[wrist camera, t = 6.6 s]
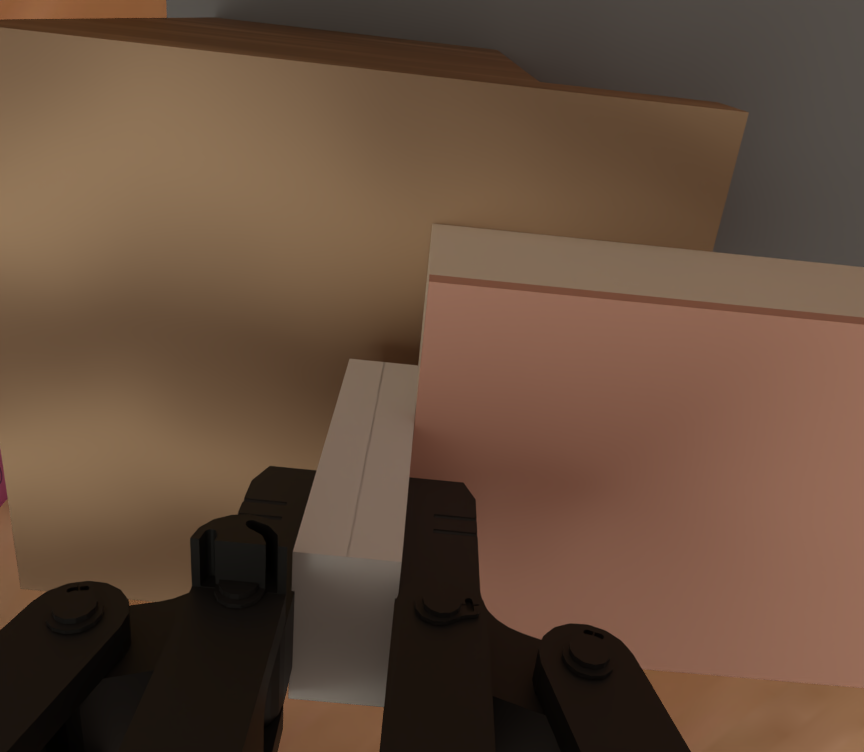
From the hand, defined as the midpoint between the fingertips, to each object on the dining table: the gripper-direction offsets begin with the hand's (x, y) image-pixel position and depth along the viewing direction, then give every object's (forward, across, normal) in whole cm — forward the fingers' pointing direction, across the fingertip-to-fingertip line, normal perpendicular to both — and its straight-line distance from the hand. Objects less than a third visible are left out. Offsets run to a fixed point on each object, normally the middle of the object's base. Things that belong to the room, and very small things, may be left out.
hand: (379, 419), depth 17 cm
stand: (+22, +1, 0) cm, 22 cm away
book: (+2, -6, 0) cm, 6 cm away
